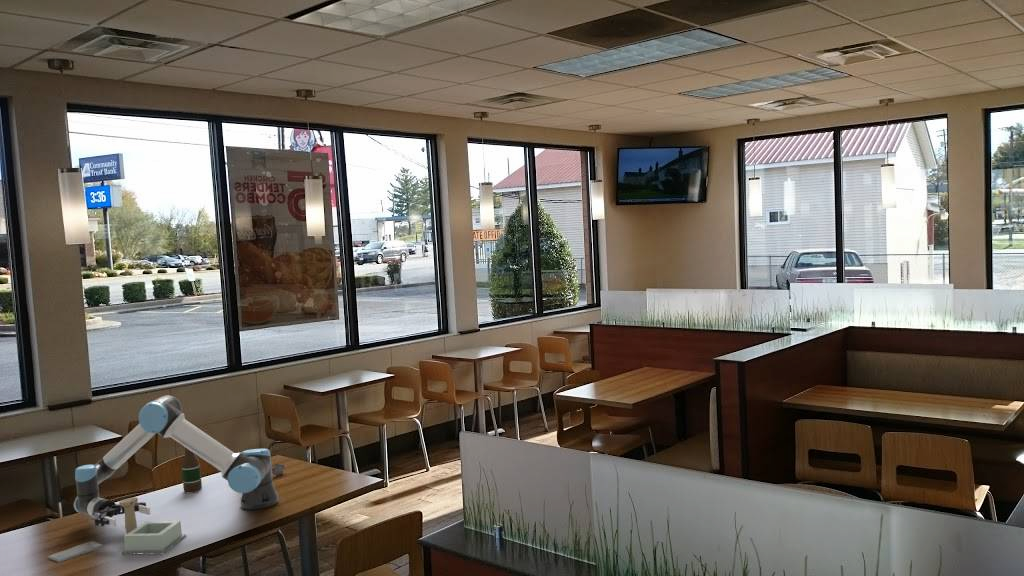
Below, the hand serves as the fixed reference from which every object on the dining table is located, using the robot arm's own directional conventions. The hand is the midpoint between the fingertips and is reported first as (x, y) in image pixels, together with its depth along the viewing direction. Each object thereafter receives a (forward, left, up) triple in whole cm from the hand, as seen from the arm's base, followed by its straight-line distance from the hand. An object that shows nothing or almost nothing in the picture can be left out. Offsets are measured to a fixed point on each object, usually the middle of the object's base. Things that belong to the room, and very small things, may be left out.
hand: (132, 516), depth 303 cm
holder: (-11, +6, -9) cm, 16 cm away
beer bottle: (+7, -57, -9) cm, 58 cm away
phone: (+16, +11, -10) cm, 22 cm away
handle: (+2, -1, -9) cm, 9 cm away
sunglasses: (-18, -78, -10) cm, 80 cm away
